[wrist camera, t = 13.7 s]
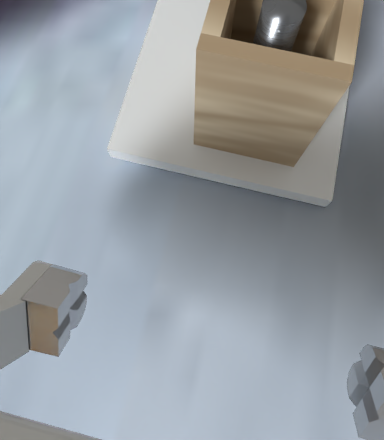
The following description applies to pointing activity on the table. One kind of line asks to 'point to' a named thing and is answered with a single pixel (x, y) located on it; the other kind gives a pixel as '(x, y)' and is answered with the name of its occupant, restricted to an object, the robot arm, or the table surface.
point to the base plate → (184, 119)
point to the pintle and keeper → (279, 23)
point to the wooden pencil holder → (271, 78)
